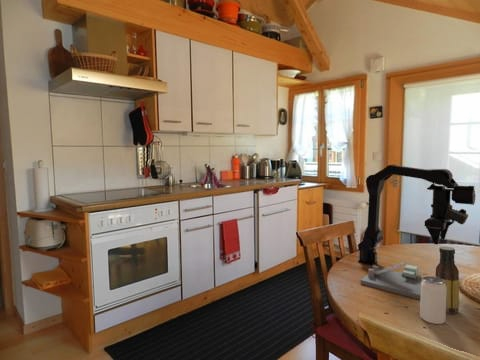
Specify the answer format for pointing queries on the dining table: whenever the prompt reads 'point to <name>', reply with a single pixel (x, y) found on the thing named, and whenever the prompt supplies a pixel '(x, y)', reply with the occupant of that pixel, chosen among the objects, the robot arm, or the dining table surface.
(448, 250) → the sauce bottle
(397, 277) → the board
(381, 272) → the strap
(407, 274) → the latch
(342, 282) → the dining table surface
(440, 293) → the can
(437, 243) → the robot arm
